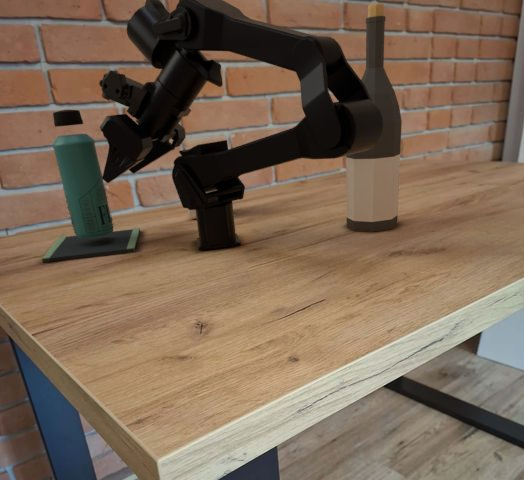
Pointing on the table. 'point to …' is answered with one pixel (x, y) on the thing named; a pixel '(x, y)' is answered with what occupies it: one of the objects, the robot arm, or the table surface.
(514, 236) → the table surface
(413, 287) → the table surface
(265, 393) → the table surface
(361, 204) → the wine bottle
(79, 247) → the dark square mat
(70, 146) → the beverage bottle
